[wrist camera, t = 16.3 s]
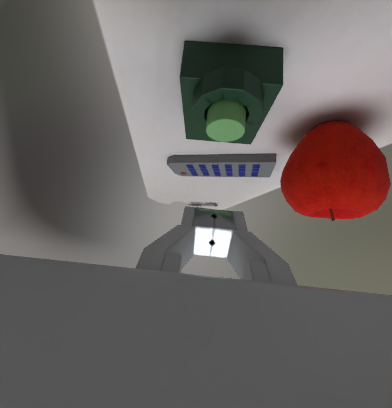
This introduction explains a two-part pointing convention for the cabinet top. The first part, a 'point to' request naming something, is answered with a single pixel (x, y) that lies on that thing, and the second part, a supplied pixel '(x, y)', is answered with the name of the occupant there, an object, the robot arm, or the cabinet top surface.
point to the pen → (204, 204)
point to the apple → (335, 173)
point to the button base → (228, 83)
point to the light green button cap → (226, 120)
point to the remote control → (223, 165)
